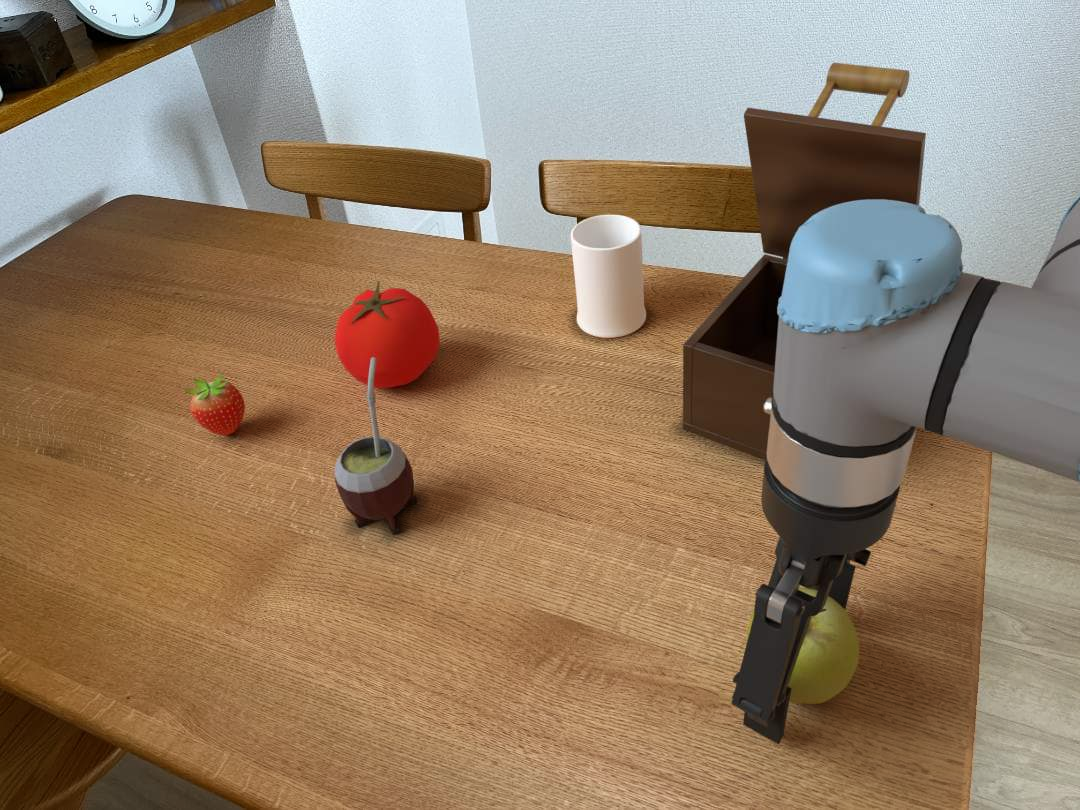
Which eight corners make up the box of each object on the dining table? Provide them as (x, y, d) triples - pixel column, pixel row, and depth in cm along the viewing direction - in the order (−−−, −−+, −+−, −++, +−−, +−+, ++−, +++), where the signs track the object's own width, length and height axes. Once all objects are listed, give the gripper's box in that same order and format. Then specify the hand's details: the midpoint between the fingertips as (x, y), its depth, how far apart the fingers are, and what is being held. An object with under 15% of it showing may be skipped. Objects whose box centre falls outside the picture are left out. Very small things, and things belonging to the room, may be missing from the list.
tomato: (421, 333, 102) (401, 256, 94) (464, 378, 94) (446, 298, 86) (333, 372, 97) (305, 295, 90) (370, 422, 90) (343, 342, 82)
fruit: (240, 411, 94) (214, 357, 89) (263, 429, 91) (238, 374, 86) (199, 437, 91) (169, 382, 86) (221, 456, 88) (193, 401, 83)
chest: (825, 482, 76) (840, 394, 69) (682, 429, 83) (682, 344, 76) (890, 375, 86) (909, 288, 79) (757, 336, 93) (764, 253, 86)
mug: (599, 280, 106) (593, 197, 98) (662, 289, 103) (661, 203, 95) (566, 332, 98) (556, 246, 90) (633, 343, 95) (629, 254, 87)
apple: (818, 600, 65) (850, 556, 57) (856, 702, 61) (897, 670, 52) (722, 620, 65) (740, 578, 56) (754, 723, 61) (779, 695, 52)
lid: (922, 140, 63) (965, 56, 66) (743, 114, 70) (788, 39, 73) (908, 287, 78) (944, 213, 81) (763, 252, 86) (800, 186, 89)
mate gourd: (362, 551, 76) (315, 436, 66) (341, 498, 81) (295, 384, 72) (436, 520, 78) (401, 403, 68) (410, 469, 83) (375, 355, 73)
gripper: (843, 338, 55) (808, 543, 69) (675, 579, 42) (676, 770, 56) (960, 371, 51) (898, 581, 66) (816, 647, 38) (778, 833, 53)
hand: (795, 668), depth 61 cm, fingers open, 11 cm apart
